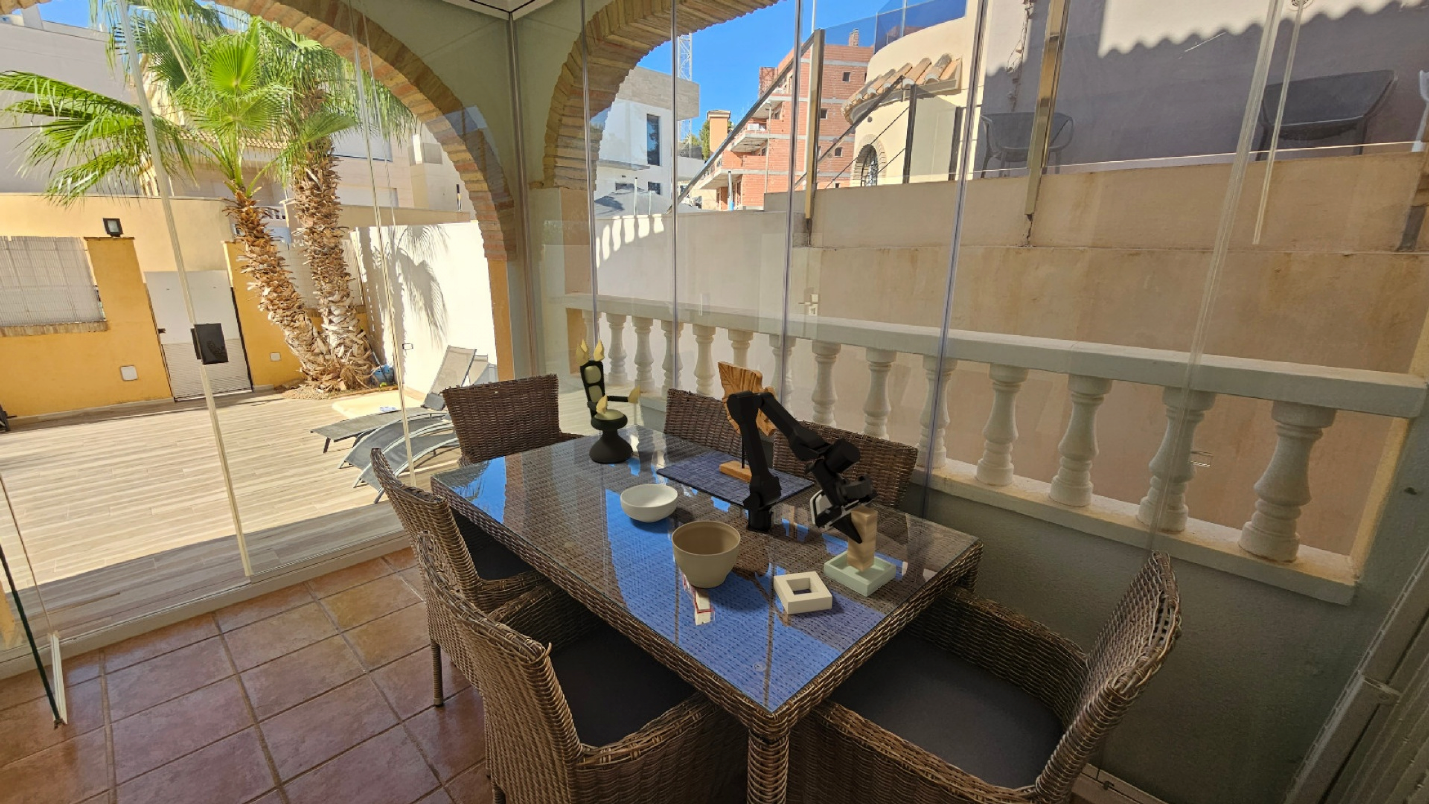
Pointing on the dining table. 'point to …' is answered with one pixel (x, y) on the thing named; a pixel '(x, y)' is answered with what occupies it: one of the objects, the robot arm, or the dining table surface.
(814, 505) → the white napkin holder
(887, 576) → the tray
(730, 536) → the planter bowl
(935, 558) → the dining table surface
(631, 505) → the cereal bowl
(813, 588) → the block
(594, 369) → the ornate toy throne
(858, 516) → the wooden block
